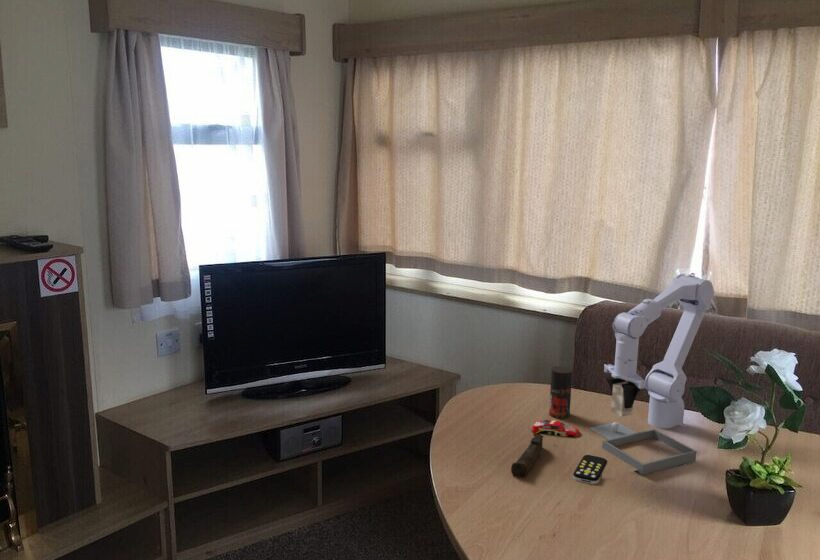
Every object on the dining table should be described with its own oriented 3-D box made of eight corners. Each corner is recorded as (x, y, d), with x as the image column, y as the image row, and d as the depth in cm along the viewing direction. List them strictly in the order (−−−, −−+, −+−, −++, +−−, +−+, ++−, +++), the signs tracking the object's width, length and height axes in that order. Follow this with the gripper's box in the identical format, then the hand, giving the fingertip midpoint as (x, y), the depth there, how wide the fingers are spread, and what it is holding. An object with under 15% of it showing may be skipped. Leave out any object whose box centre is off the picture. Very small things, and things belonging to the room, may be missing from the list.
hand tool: (525, 480, 179) (526, 463, 178) (510, 476, 181) (511, 459, 180) (550, 450, 195) (551, 434, 194) (536, 447, 197) (537, 431, 196)
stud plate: (616, 424, 211) (617, 412, 210) (641, 438, 202) (642, 426, 201) (588, 431, 206) (589, 418, 206) (612, 445, 198) (613, 432, 197)
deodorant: (544, 415, 217) (547, 367, 213) (561, 412, 219) (564, 365, 216) (556, 423, 211) (559, 374, 208) (573, 420, 214) (576, 371, 210)
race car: (580, 435, 205) (581, 421, 204) (579, 443, 200) (580, 429, 199) (533, 428, 208) (534, 415, 208) (530, 436, 203) (531, 423, 202)
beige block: (611, 411, 201) (613, 384, 200) (622, 409, 203) (624, 381, 201) (621, 416, 198) (623, 388, 196) (632, 414, 199) (634, 386, 198)
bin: (653, 438, 202) (654, 428, 201) (695, 461, 189) (696, 451, 188) (601, 451, 194) (602, 440, 194) (642, 476, 181) (642, 464, 180)
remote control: (608, 464, 188) (608, 457, 187) (596, 486, 177) (597, 479, 176) (583, 459, 190) (584, 452, 190) (571, 480, 179) (572, 473, 179)
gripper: (596, 351, 202) (593, 397, 205) (633, 367, 189) (629, 416, 192) (617, 348, 204) (613, 393, 207) (654, 364, 192) (650, 412, 195)
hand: (622, 404), depth 200 cm, fingers closed on beige block, 4 cm apart
